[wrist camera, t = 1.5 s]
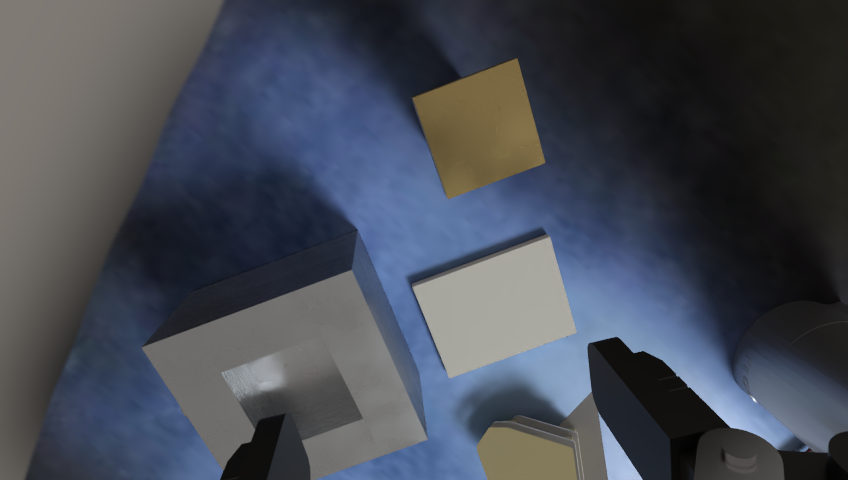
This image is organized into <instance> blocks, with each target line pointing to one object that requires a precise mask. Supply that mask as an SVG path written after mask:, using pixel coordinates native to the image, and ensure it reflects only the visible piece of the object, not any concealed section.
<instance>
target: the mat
mask: <svg viewBox="0 0 848 480" xmlns="http://www.w3.org/2000/svg"><path fill="white" fill-rule="evenodd" d="M412 287H413V290H414V292H415V295H416V297H417V300H418V302H419V305H420V307H421V310H422V312H423V314H424V317H425V319H426V322H427V324H428V327H429V329H430V332H431V334H432V337H433V339H434V342H435V344H436V347H437V349H438V351H439V354H440V356H441V359H442V361H443V364H444V366H445V369H446V371H447V374H448V376H449V378H452V377H455V376H457V375H460V374H463V373H466V372H469V371H471V370H474V369H477V368H480V367H483V366H485V365H488V364H491V363H494V362H496V361H499V360H502V359H505V358H508V357H510V356H513V355H516V354H519V353H521V352H524V351H527V350H530V349H533V348H535V347H538V346H541V345H544V344H547V343H549V342H552V341H555V340H558V339H560V338H563V337H566V336H569V335H572V334H574V333H577V332H576V328H575V325H574V321H573V318H572V314H571V310H570V307H569V303H568V300H567V296H566V292H565V289H564V285H563V282H562V278H561V275H560V271H559V267H558V264H557V260H556V257H555V253H554V250H553V246H552V242H551V239H550V236H549V235H547V234H546V235H543V236H540V237H538V238H535V239H532V240H529V241H527V242H524V243H521V244H518V245H516V246H513V247H510V248H508V249H505V250H502V251H499V252H497V253H494V254H491V255H488V256H486V257H483V258H480V259H477V260H475V261H472V262H469V263H467V264H464V265H461V266H458V267H456V268H453V269H450V270H447V271H445V272H442V273H439V274H437V275H434V276H431V277H428V278H426V279H423V280H420V281H417V282H415V283H412Z"/></svg>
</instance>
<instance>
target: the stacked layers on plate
mask: <svg viewBox="0 0 848 480" xmlns="http://www.w3.org/2000/svg"><path fill="white" fill-rule="evenodd" d="M477 451H478V454H479V457H480V460H481V462H482V465H483V468H484V471H485V473H486V476H487V479H488V480H608V477H607V470H606V463H605V456H604V450H603V443H602V436H601V429H600V422H599V415H598V410H597V407H596V405H595V402H594V399H593V395H592V392H591V393H590V394H589V395H588V396H587V397H586V398H585V399H584V400H583V401H582V402H581V403H580V404H579V405H578V406H577V407H576V409H575V410H574V411H573V412H572V413H571V414H570V415H569V416H568V417H567V418H566V419H565V420H564V421H563V422H562V423H561V424H560V425H559V426H555V425H552V424H548V423H545V422H542V421H538V420H535V419H532V418H528V417H525V416H521V415H516V416H515V417H514V418H513V419H512V420H508V421H495V422H494V423H493V424H492V425H491V427H489V428H488V430H487V431H486V433H485V434H484V436H483V437H482V439H481V440H480V442H479V443H478V445H477Z"/></svg>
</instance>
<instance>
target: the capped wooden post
mask: <svg viewBox="0 0 848 480" xmlns="http://www.w3.org/2000/svg"><path fill="white" fill-rule="evenodd" d="M411 99H412V102H413V105H414V108H415V111H416V113H417V116H418V119H419V122H420V125H421V128H422V131H423V133H424V136H425V139H426V142H427V145H428V148H429V150H430V153H431V156H432V159H433V162H434V165H435V168H436V170H437V173H438V176H439V179H440V182H441V185H442V187H443V190H444V193H445V195H446V197H447V198H448V199H450V198H452V197H455V196H458V195H461V194H463V193H466V192H469V191H471V190H474V189H477V188H479V187H482V186H485V185H487V184H490V183H493V182H496V181H498V180H501V179H504V178H506V177H509V176H512V175H514V174H517V173H520V172H522V171H525V170H528V169H531V168H533V167H536V166H539V165H541V164H544V163H545V160H544V156H543V152H542V148H541V145H540V141H539V137H538V133H537V130H536V126H535V122H534V119H533V115H532V111H531V107H530V104H529V100H528V96H527V92H526V89H525V85H524V81H523V77H522V74H521V70H520V66H519V63H518V59H517V58H516V59H510V60H507V61H504V62H502V63H499V64H497V65H494V66H491V67H489V68H486V69H483V70H481V71H478V72H475V73H473V74H470V75H468V76H465V77H462V78H460V79H457V80H454V81H452V82H449V83H446V84H444V85H441V86H439V87H436V88H433V89H431V90H428V91H425V92H423V93H420V94H417V95H415V96H412V97H411Z"/></svg>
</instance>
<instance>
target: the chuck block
mask: <svg viewBox="0 0 848 480" xmlns="http://www.w3.org/2000/svg"><path fill="white" fill-rule="evenodd" d="M141 348H142V349H143V351H144V352H145V354H146V355H147V357H148V358H149V360H150V361H151V363H152V364H153V366H154V367H155V369H156V370H157V372H158V373H159V375H160V376H161V378H162V379H163V381H164V382H165V384H166V385H167V387H168V388H169V390H170V391H171V393H172V394H173V396H174V397H175V399H176V400H177V402H178V403H179V405H180V408H181V410H182V412H183V414H184V415H185V416H186V417H187V418H189V420H190V421H191V423H192V424H193V426H194V427H195V429H196V430H197V432H198V433H199V435H200V436H201V438H202V439H203V441H204V442H205V444H206V445H207V447H208V448H209V450H210V452H211V453H212V455H213V456H214V458H215V459H216V461H217V462H218V464H219V465H220V467H221V468H222V470H223V471H224V469H225V466H226V464H227V461H228V460H229V459H230V458H231V456H232V455H233V454H234V453H235V452H236V450H237V449H238V448H239V447H240V445H241V444H244V443H248V442H251V440H252V437H253V434H254V432H255V429H256V426H257V423H258V421H259V420H260V419H262V418H267V417H271V416H275V415H280V414H284V413H290V414H291V415H292V416H293V419H294V421H295V424H296V426H297V429H298V432H299V434H300V437H301V440H302V443H303V445H304V448H305V451H306V453H307V456H308V459H309V464H310V474H311V478H310V480H315V479H318V478H321V477H324V476H327V475H329V474H332V473H335V472H338V471H341V470H343V469H346V468H349V467H352V466H355V465H357V464H360V463H363V462H366V461H369V460H372V459H374V458H377V457H380V456H383V455H386V454H388V453H391V452H394V451H397V450H400V449H402V448H405V447H408V446H411V445H414V444H417V443H419V442H422V441H425V440H428V436H427V428H426V421H425V413H424V406H423V398H422V391H421V383H420V376H419V371H418V369H417V366H416V364H415V362H414V359H413V357H412V355H411V352H410V350H409V348H408V345H407V343H406V341H405V338H404V336H403V334H402V331H401V329H400V327H399V324H398V322H397V320H396V318H395V315H394V313H393V311H392V308H391V306H390V304H389V301H388V299H387V297H386V294H385V292H384V290H383V287H382V285H381V283H380V280H379V278H378V276H377V273H376V271H375V269H374V266H373V264H372V262H371V259H370V257H369V255H368V252H367V250H366V248H365V245H364V243H363V241H362V239H361V236H360V234H359V232H358V230H356V231H354V232H351V233H348V234H346V235H343V236H340V237H337V238H335V239H332V240H329V241H327V242H324V243H321V244H319V245H316V246H313V247H311V248H308V249H305V250H302V251H300V252H297V253H294V254H292V255H289V256H286V257H284V258H281V259H278V260H276V261H273V262H270V263H267V264H265V265H262V266H259V267H257V268H254V269H251V270H249V271H246V272H243V273H241V274H238V275H235V276H232V277H230V278H227V279H224V280H222V281H219V282H216V283H214V284H211V285H208V286H206V287H203V288H200V289H198V290H195V291H192V292H191V293H190V294H189V295H188V296H187V297H186V298H185V299H184V301H183V302H182V303H181V304H180V305H179V306H178V307H177V308H176V310H175V311H174V312H173V313H172V314H171V315H170V316H169V317H168V318H167V320H166V321H165V322H164V323H163V324H162V325H161V326H160V327H159V328H158V330H157V331H156V332H155V333H154V334H153V335H152V336H151V337H150V338H149V340H148V341H147V342H146V343H145V344H144V345H143V346H142V347H141Z"/></svg>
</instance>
